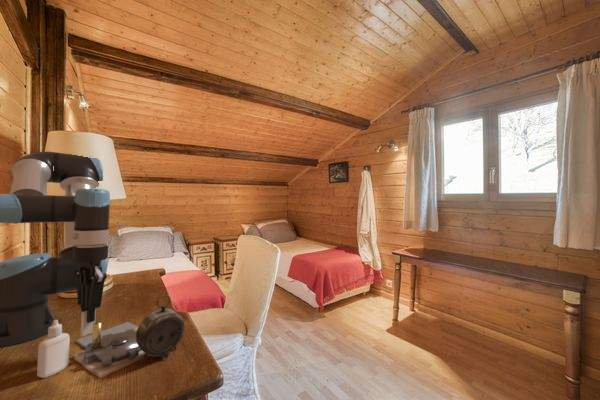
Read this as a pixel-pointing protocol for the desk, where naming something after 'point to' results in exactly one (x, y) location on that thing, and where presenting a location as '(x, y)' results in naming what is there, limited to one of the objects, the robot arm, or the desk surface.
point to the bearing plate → (105, 369)
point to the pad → (113, 330)
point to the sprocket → (111, 346)
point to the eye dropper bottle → (53, 351)
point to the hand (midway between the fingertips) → (87, 333)
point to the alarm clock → (160, 332)
